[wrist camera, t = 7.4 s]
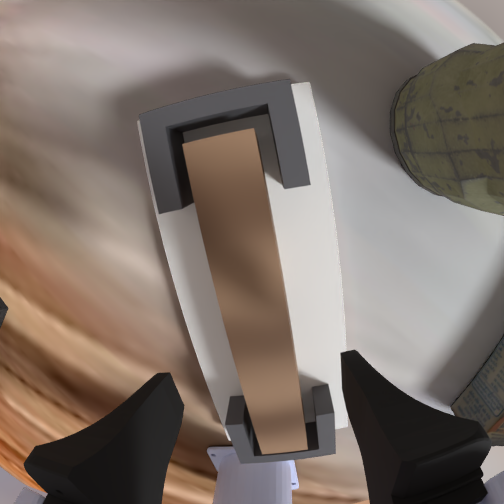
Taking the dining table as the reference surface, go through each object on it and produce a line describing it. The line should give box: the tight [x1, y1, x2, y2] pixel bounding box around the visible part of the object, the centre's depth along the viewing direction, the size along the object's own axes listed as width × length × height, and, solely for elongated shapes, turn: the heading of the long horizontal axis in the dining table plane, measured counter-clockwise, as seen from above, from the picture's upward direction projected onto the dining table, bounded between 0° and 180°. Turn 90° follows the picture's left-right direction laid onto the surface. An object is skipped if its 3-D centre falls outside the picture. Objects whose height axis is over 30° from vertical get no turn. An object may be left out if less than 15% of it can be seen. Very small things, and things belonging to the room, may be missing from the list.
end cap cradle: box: [137, 79, 348, 464], centre depth 18 cm, size 25×10×4 cm, turn 11°
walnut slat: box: [182, 128, 308, 454], centre depth 17 cm, size 20×3×4 cm, turn 11°
